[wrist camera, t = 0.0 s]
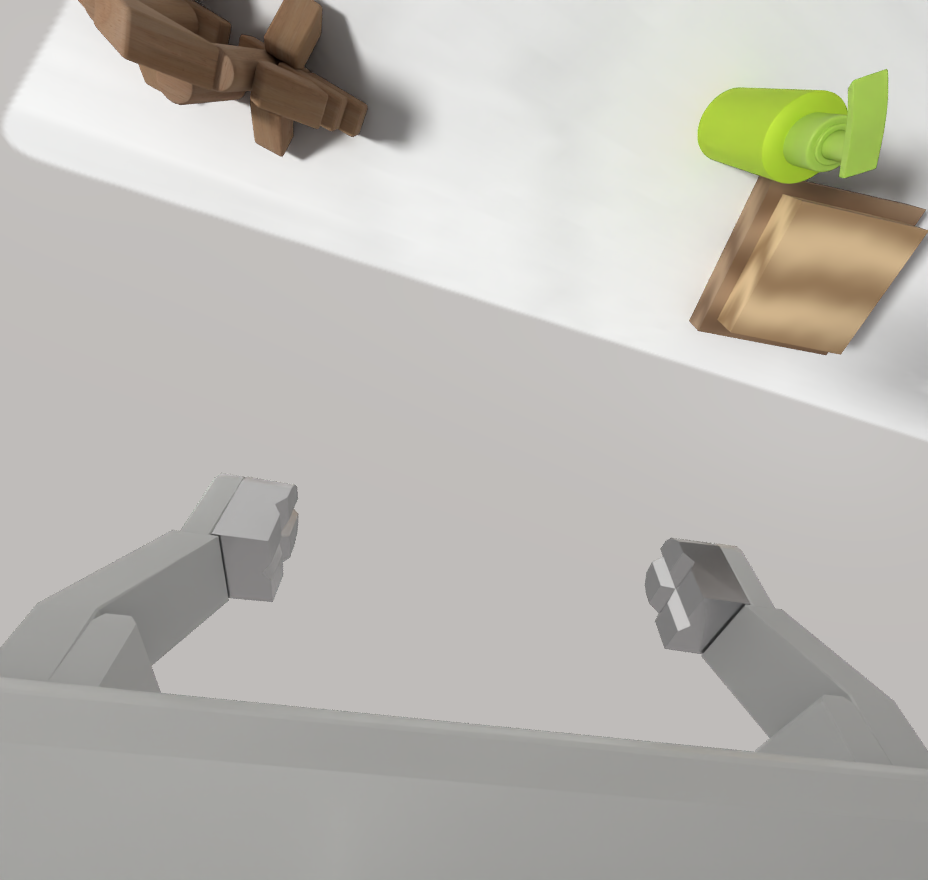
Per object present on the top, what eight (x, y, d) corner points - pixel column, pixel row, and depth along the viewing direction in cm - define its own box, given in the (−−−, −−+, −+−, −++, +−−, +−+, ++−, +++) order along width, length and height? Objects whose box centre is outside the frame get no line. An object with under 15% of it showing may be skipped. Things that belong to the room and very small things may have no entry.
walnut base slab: (758, 170, 50) (775, 175, 47) (900, 202, 51) (926, 209, 48) (687, 319, 59) (698, 330, 56) (809, 342, 60) (826, 355, 58)
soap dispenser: (764, 63, 44) (933, 55, 28) (761, 148, 48) (908, 184, 32) (695, 87, 45) (820, 93, 29) (698, 169, 49) (809, 214, 33)
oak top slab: (783, 194, 48) (802, 201, 45) (902, 222, 49) (928, 230, 46) (717, 319, 55) (730, 332, 52) (822, 340, 56) (840, 354, 54)
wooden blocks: (388, 47, 44) (347, 33, 29) (342, 184, 50) (290, 227, 36) (81, -149, 37) (-165, -291, 23) (74, 38, 44) (-120, 19, 29)
